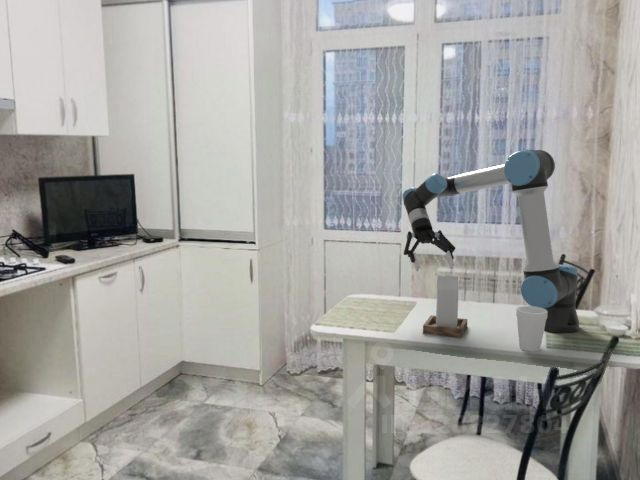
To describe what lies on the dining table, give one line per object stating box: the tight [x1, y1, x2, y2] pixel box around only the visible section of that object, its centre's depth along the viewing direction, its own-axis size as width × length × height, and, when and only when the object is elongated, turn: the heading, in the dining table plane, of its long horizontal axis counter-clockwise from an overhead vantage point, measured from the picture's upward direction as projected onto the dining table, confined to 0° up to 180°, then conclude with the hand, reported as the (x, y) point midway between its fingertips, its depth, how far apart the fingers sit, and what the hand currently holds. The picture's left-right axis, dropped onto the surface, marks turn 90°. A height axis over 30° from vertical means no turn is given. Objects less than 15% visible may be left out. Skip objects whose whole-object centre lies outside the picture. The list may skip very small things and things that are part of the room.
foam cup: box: [515, 305, 548, 353], centre depth 190 cm, size 10×9×13 cm
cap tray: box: [422, 314, 468, 339], centre depth 210 cm, size 13×13×3 cm
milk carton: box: [435, 275, 459, 328], centre depth 209 cm, size 7×7×19 cm
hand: (435, 268), depth 216 cm, fingers open, 13 cm apart
